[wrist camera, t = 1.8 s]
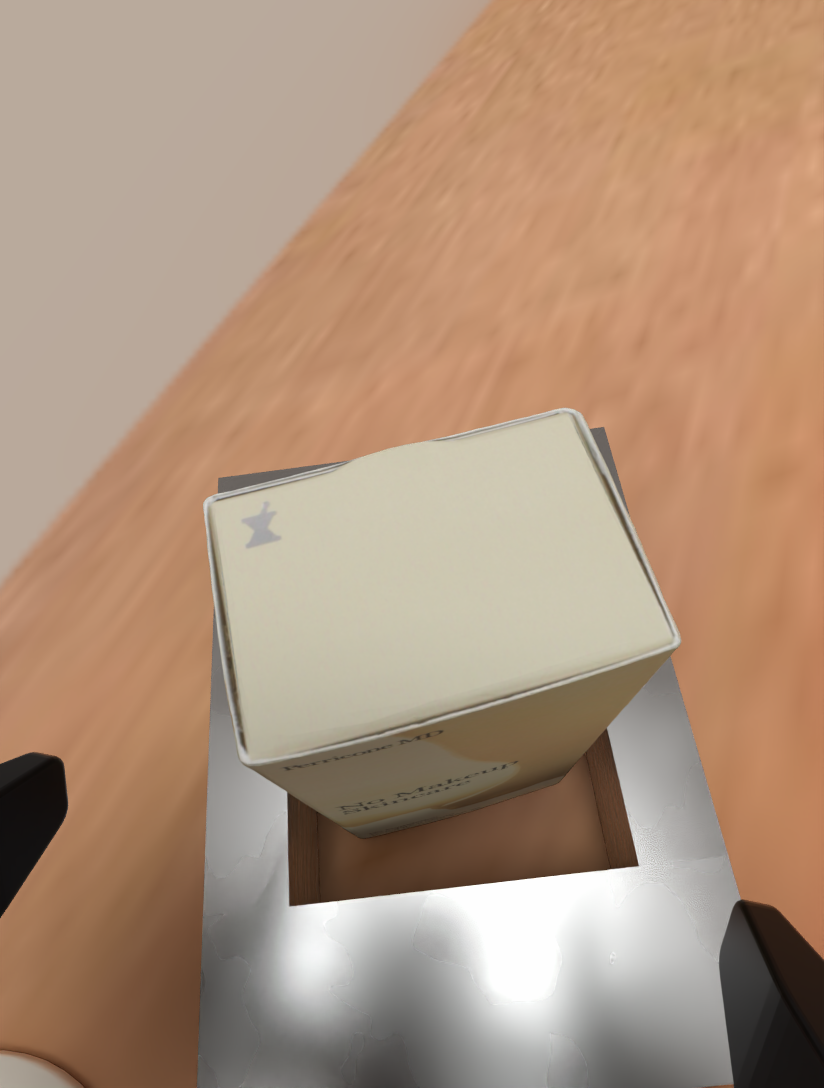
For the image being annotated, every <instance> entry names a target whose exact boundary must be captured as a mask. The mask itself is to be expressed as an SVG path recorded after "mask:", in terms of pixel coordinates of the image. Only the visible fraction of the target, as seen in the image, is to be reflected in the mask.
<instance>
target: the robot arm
mask: <svg viewBox="0 0 824 1088" xmlns="http://www.w3.org/2000/svg"><path fill="white" fill-rule="evenodd" d="M67 810H68V796H67V787H66V778H65V769H64V763H63V762H62V760H61V759H60V758H58V757H57V756H53V755H48V754H43V753H38V752H32V753H28V754H25V755H22V756H20V757H17V758H15V759H12V760H9V761H7V762H4V763H2V764H0V918H1V916H2V915H3V913H4V912H5V910H6V909H7V908H8V906H9V905H10V903H11V901H12V900H13V898H14V897H15V895H16V894H17V892H18V891H19V889H20V888H21V886H22V885H23V883H24V882H25V880H26V878H27V877H28V875H29V874H30V872H31V871H32V869H33V868H34V866H35V865H36V863H37V862H38V860H39V859H40V857H41V855H42V854H43V852H44V851H45V849H46V848H47V846H48V845H49V843H50V842H51V840H52V839H53V837H54V836H55V834H56V832H57V831H58V829H59V828H60V826H61V825H62V823H63V821H64V819H65V817H66V814H67ZM719 974H720V981H721V989H722V997H723V1005H724V1013H725V1021H726V1028H727V1036H728V1044H729V1052H730V1060H731V1068H732V1075H733V1083H734V1088H824V960H823V958H822V957H821V956H820V955H819V954H818V953H817V952H816V951H815V950H814V949H813V948H812V946H811V945H810V944H809V943H808V942H807V941H806V940H805V939H804V938H803V937H802V935H801V934H800V933H799V932H798V931H797V930H796V929H795V928H794V927H793V926H792V925H791V923H790V922H789V921H788V920H787V919H786V918H785V917H784V916H783V915H782V914H781V912H779V911H778V910H777V909H776V908H775V907H773V906H770V905H767V904H762V903H757V902H753V901H748V900H739V901H737V902H736V903H735V904H734V906H733V909H732V912H731V915H730V918H729V921H728V925H727V928H726V931H725V934H724V938H723V941H722V944H721V948H720V953H719Z"/></svg>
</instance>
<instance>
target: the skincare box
mask: <svg viewBox="0 0 824 1088" xmlns="http://www.w3.org/2000/svg"><path fill="white" fill-rule="evenodd" d="M203 510H204V516H205V525H206V532H207V547H208V556H209V564H210V573H211V583H212V592H213V600H214V607H215V616H216V624H217V632H218V639H219V646H220V653H221V660H222V667H223V674H224V682H225V688H226V694H227V700H228V705H229V710H230V715H231V719H232V725H233V731H234V737H235V742H236V750H237V755H238V758H239V760H240V762H241V763H242V764H243V765H244V766H246V767H248V768H250V769H252V770H254V771H255V772H257V773H258V774H260V775H261V776H263V777H264V778H266V779H267V780H269V781H271V782H272V783H274V784H276V785H277V786H279V787H280V788H282V789H284V790H285V791H287V792H288V793H290V794H291V795H292V796H294V797H296V798H297V799H299V800H300V801H302V802H303V803H305V804H306V805H308V806H310V807H311V808H313V809H314V810H316V811H317V812H319V813H321V814H322V815H324V816H326V817H327V818H329V819H331V820H332V821H334V822H335V823H336V824H338V825H340V826H341V827H343V828H344V829H346V830H347V831H349V832H351V833H352V834H354V835H356V836H357V837H359V838H363V839H364V838H369V837H374V836H378V835H382V834H386V833H391V832H395V831H399V830H403V829H407V828H411V827H415V826H419V825H423V824H427V823H430V822H434V821H438V820H442V819H445V818H449V817H452V816H456V815H459V814H463V813H467V812H470V811H474V810H477V809H480V808H483V807H486V806H489V805H492V804H495V803H498V802H501V801H504V800H508V799H511V798H514V797H517V796H520V795H523V794H526V793H529V792H532V791H536V790H539V789H542V788H545V787H548V786H551V785H554V784H556V783H559V782H560V781H561V780H562V779H563V777H564V776H565V775H566V774H567V773H568V771H569V770H570V769H571V768H572V767H573V766H574V764H575V763H576V762H577V761H578V760H579V759H580V758H581V756H582V755H583V754H584V753H585V752H586V751H587V750H588V748H589V747H590V746H591V745H592V744H593V743H594V742H595V741H596V739H597V738H598V737H599V736H600V735H601V734H602V733H603V731H604V730H605V729H606V728H607V727H608V726H609V725H610V723H611V722H612V721H613V720H614V719H615V718H616V717H617V716H618V715H619V713H620V712H621V711H622V710H623V709H624V707H625V706H626V705H628V704H629V702H630V701H631V700H632V699H633V698H634V696H635V695H636V694H637V693H638V692H639V691H640V690H641V688H642V687H643V686H644V685H645V684H646V683H647V682H648V681H649V679H650V678H651V677H652V676H653V675H654V674H655V673H656V671H657V670H658V669H659V668H660V667H661V666H662V665H663V664H664V662H665V661H666V660H667V659H668V658H669V657H670V656H671V655H672V653H673V652H674V651H675V650H676V649H677V648H678V647H679V646H680V644H681V637H680V632H679V630H678V628H677V626H676V624H675V622H674V619H673V617H672V615H671V613H670V611H669V609H668V606H667V604H666V602H665V600H664V598H663V595H662V592H661V589H660V587H659V584H658V582H657V579H656V577H655V575H654V572H653V570H652V568H651V565H650V563H649V561H648V559H647V557H646V554H645V552H644V549H643V547H642V544H641V542H640V540H639V537H638V535H637V532H636V529H635V527H634V525H633V524H632V521H631V519H630V516H629V514H628V512H627V510H626V508H625V506H624V504H623V502H622V499H621V497H620V495H619V493H618V490H617V488H616V486H615V483H614V481H613V478H612V476H611V474H610V472H609V469H608V467H607V465H606V463H605V461H604V459H603V457H602V455H601V453H600V451H599V448H598V446H597V444H596V442H595V440H594V438H593V435H592V433H591V431H590V429H589V427H588V425H587V423H586V421H585V419H584V417H583V415H582V414H581V413H580V412H578V411H576V410H574V409H569V408H561V409H556V410H552V411H548V412H545V413H541V414H537V415H533V416H529V417H525V418H520V419H516V420H512V421H508V422H504V423H500V424H496V425H493V426H488V427H484V428H479V429H475V430H471V431H468V432H464V433H460V434H456V435H452V436H448V437H443V438H438V439H433V440H429V441H424V442H419V443H413V444H407V445H402V446H398V447H394V448H390V449H386V450H382V451H379V452H376V453H373V454H369V455H366V456H363V457H360V458H357V459H354V460H351V461H347V462H344V463H340V464H336V465H332V466H328V467H324V468H320V469H316V470H312V471H308V472H304V473H300V474H297V475H293V476H290V477H286V478H282V479H278V480H274V481H269V482H265V483H261V484H257V485H253V486H249V487H245V488H241V489H238V490H234V491H229V492H224V493H219V494H215V495H213V496H210V497H208V498H207V499H206V500H205V501H204V503H203Z"/></svg>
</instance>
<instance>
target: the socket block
mask: <svg viewBox="0 0 824 1088" xmlns="http://www.w3.org/2000/svg"><path fill="white" fill-rule="evenodd" d="M590 431H591V433H592V435H593V438H594V440H595V442H596V444H597V446H598V448H599V451H600V453H601V455H602V457H603V459H604V461H605V463H606V465H607V467H608V469H609V472H610V474H611V476H612V478H613V481H614V483H615V486H616V488H617V490H618V493H619V495H620V497H621V499H622V502H623V504H624V506H625V508H626V510H627V512H628V508H627V505H626V501H625V498H624V495H623V491H622V488H621V484H620V481H619V477H618V474H617V470H616V467H615V463H614V460H613V457H612V453H611V450H610V446H609V443H608V439H607V436H606V432H605V429H604V427H601V428H594V429H590ZM344 462H347V461H344ZM344 462H337V463H329V464H321V465H314V466H306V467H299V468H291V469H284V470H276V471H268V472H261V473H253V474H246V475H238V476H231V477H223V478H218V494H219V493H224V492H229V491H234V490H238V489H241V488H245V487H249V486H253V485H257V484H261V483H265V482H269V481H274V480H278V479H282V478H286V477H290V476H293V475H297V474H300V473H304V472H308V471H312V470H316V469H320V468H324V467H328V466H332V465H336V464H340V463H344ZM628 514H629V512H628ZM629 516H630V515H629ZM586 756H587V760H588V765H589V770H590V774H591V779H592V783H593V788H594V793H595V797H596V802H597V807H598V811H599V816H600V821H601V825H602V830H603V835H604V839H605V844H606V849H607V853H608V858H609V863H610V867H611V870H602V871H594V872H585V873H576V874H568V875H559V876H550V877H542V878H533V879H524V880H516V881H507V882H498V883H490V884H481V885H473V886H464V887H455V888H447V889H438V890H429V891H421V892H412V893H403V894H395V895H386V896H377V897H369V898H360V899H352V900H343V901H334V902H326V903H320V889H319V860H318V832H317V811H316V810H314V809H313V808H311V807H310V806H308V805H306V804H305V803H303V802H302V801H300V800H299V799H297V798H296V797H294V796H292V795H291V794H290V793H288V792H287V791H285V790H284V789H282V788H280V787H279V786H277V785H276V784H274V783H272V782H271V781H269V780H267V779H266V778H264V777H263V776H261V775H260V774H258V773H257V772H255V771H254V770H252V769H250V768H248V767H246V766H244V765H243V764H242V763H241V762H240V760H239V758H238V755H237V750H236V742H235V737H234V731H233V725H232V719H231V715H230V710H229V705H228V700H227V694H226V688H225V682H224V674H223V667H222V660H221V653H220V646H219V639H218V632H217V624H216V616H215V607H214V619H213V647H212V676H211V704H210V732H209V761H208V789H207V817H206V845H205V874H204V902H203V930H202V959H201V987H200V1015H199V1044H198V1072H197V1088H700V1087H709V1086H719V1085H728V1084H734V1083H733V1075H732V1068H731V1060H730V1052H729V1044H728V1036H727V1028H726V1021H725V1013H724V1005H723V997H722V989H721V981H720V974H719V953H720V948H721V944H722V941H723V938H724V934H725V931H726V928H727V925H728V921H729V918H730V915H731V912H732V909H733V906H734V904H735V903H736V902H737V901H739V900H741V898H740V895H739V891H738V888H737V885H736V881H735V878H734V874H733V871H732V867H731V864H730V860H729V857H728V853H727V850H726V847H725V843H724V840H723V836H722V833H721V829H720V826H719V822H718V819H717V815H716V812H715V809H714V805H713V802H712V798H711V795H710V791H709V788H708V784H707V781H706V778H705V774H704V771H703V767H702V764H701V760H700V757H699V753H698V750H697V746H696V743H695V740H694V736H693V733H692V729H691V726H690V722H689V719H688V715H687V712H686V709H685V705H684V702H683V698H682V695H681V691H680V688H679V684H678V681H677V677H676V674H675V671H674V667H673V664H672V660H671V657H669V658H668V659H667V660H666V661H665V662H664V664H663V665H662V666H661V667H660V668H659V669H658V670H657V671H656V673H655V674H654V675H653V676H652V677H651V678H650V679H649V681H648V682H647V683H646V684H645V685H644V686H643V687H642V688H641V690H640V691H639V692H638V693H637V694H636V695H635V696H634V698H633V699H632V700H631V701H630V702H629V704H628V705H626V706H625V707H624V709H623V710H622V711H621V712H620V713H619V715H618V716H617V717H616V718H615V719H614V720H613V721H612V722H611V723H610V725H609V726H608V727H607V728H606V729H605V730H604V731H603V733H602V734H601V735H600V736H599V737H598V738H597V739H596V741H595V742H594V743H593V744H592V745H591V746H590V747H589V748H588V750H587V751H586Z"/></svg>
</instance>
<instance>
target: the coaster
mask: <svg viewBox="0 0 824 1088" xmlns="http://www.w3.org/2000/svg"><path fill="white" fill-rule="evenodd" d="M0 1088H84V1087H83V1086H82V1084H80V1083H79V1082H78V1081H77V1080H76V1079H74V1078H73V1077H72V1076H71V1075H69V1074H68V1073H67V1072H66V1071H64V1070H63V1069H61V1068H59V1067H57V1066H55V1065H54V1064H52V1063H50V1062H48V1061H46V1060H44V1059H41V1058H38V1057H35V1056H32V1055H29V1054H26V1053H20V1052H13V1051H6V1050H0Z"/></svg>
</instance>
